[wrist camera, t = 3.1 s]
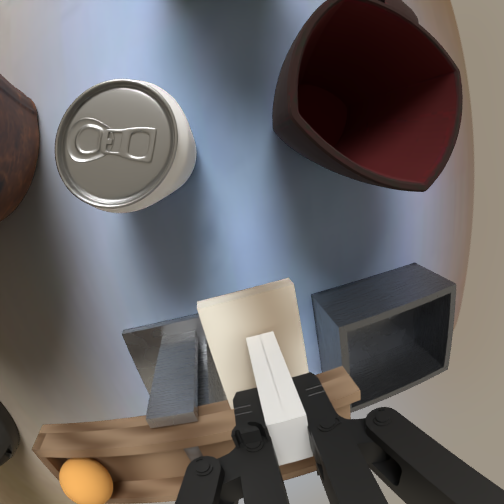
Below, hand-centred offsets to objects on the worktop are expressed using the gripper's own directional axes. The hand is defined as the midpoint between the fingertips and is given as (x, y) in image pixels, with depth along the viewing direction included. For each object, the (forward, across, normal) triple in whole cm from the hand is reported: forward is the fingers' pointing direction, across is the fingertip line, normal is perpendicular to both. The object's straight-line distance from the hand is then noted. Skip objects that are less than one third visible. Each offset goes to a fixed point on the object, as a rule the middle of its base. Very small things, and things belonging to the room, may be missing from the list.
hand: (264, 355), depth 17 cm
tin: (+11, +11, -7) cm, 17 cm away
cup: (+11, +10, +14) cm, 20 cm away
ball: (0, -14, -7) cm, 16 cm away
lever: (+1, -6, -3) cm, 7 cm away
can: (+11, -4, +12) cm, 17 cm away
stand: (+11, -6, -7) cm, 14 cm away
